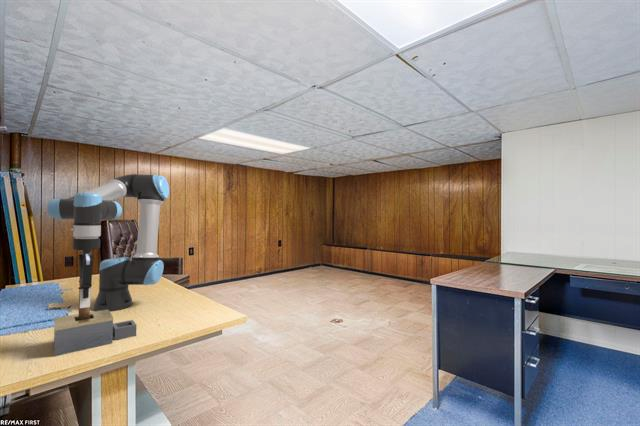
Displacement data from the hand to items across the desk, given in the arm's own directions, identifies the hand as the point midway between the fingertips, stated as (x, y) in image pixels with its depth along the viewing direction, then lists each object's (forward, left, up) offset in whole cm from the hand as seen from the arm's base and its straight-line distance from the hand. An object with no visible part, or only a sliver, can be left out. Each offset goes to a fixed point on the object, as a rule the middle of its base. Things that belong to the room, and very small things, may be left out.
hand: (84, 305), depth 103 cm
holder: (0, +12, -13) cm, 18 cm away
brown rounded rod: (0, 0, -7) cm, 7 cm away
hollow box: (0, 0, -13) cm, 13 cm away
